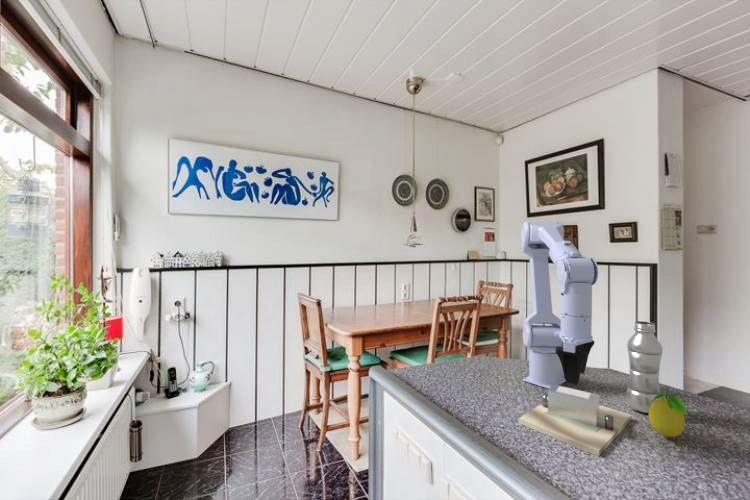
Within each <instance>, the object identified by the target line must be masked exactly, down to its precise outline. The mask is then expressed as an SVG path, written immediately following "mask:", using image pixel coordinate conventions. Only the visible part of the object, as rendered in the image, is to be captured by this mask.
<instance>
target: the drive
mask: <svg viewBox="0 0 750 500" xmlns="http://www.w3.org/2000/svg"><path fill="white" fill-rule="evenodd" d="M547 395H548V413H549V414H553V415H556V416H560V417H563V418H567V419H570V420H574V421H577V422H581V423H585V424H588V425H592V426H595V427H597V424H598V420H599V405H600V394H597V393H593V392H588V391H585V390H581V389H576V388H572V387H568V386H562V385H555V384H552V386H551V387H550V388H549V389H548V390H547Z"/></svg>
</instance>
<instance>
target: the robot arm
mask: <svg viewBox="0 0 750 500" xmlns="http://www.w3.org/2000/svg"><path fill="white" fill-rule="evenodd" d="M564 237H565V228H564V225H563V224H562V222H561V221H539V222H538V221H535V222H533V221H532V222H531V221H525V222H523V224H522V226H521V231H520V238H521V240H520V241H521V249H522V253H524V254H526V255H528V259H529V261H528V262H529V265H530V266H529V267H530V269H529V270H530V280H531V281H530V282H531V283H530V284H531V294H532V310H533V311H532V313H531V314H530V315H528V316H527V317H526V318H525V319H524V320H523V323H522V324H523V326H522V327H523V328H522V341H523V344H524V346H525V347H526V348H527V349H529V353H528V354H529V358H528V361H529V363H528V371H529V372H528V376H526V377H523V378H522V381H523V382H525V383H529V384H532V385H535V386H538V387H542V388H546V389H548V390H549V388H550V387H551V386H552V384H555V385H559V386H562V384H563V383H568V384H570V385H575V386H577V385H578V383H579V381H580V378H581V374H585V371H586V368H587V364H588V359H589V355H590V353H591V350H592V348H593V346H594V345H595V340H593V335H592V331H593V329H592V321H593V320H592V319H593V318H592V317H593V316H592V315H593V286H594V285H596V282H597V281H598V277H599V268H598V264H597V261H596V260H595V258H594V257H592V256H591V257H589V256H588V257H587V256H583V255H582V253H581V252H580V251H579V250H578V249H577V247H576V246H575V245H574V244H573V243H572V242H571V241H570V240H565V239H564ZM549 258H550V259H551V261H552V263H553V264H554V266H555V268H556V279H557V282H558V284H557V285H558V291H559V292H560V318H559V316H556V314H554V313H553V306H552V305H553V304H552V295H551V281H550V267H549ZM535 324H536V325H535ZM538 324H539V325H538Z"/></svg>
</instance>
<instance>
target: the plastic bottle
mask: <svg viewBox="0 0 750 500" xmlns="http://www.w3.org/2000/svg"><path fill="white" fill-rule="evenodd" d="M634 331H635V333H633V335H631V337H630V338H629V339H628V342H627V344H626V346H627V353H628V360H629V378H628V386H627V389H626V394H625V396H626V398H625V399H626V403H627V404H628V406H629V407H630V408H632V409H633V410H635V411H638V412H640V413H643V414H649V409H650V406H651V405H652V403H653V402H654V401H656V400H657V399H660V398H662V397H660V398H657V399H656V400H654V398H655V397H656V395H657V394H658V393H659V392H661V390H660V379H659V378H660V365H661V361H662V355H663V345H662V343H661V342H660V340H659V339H658V338H657V336H656V335H655V333H656V325H655V323H653V322H649V321H641V320H640V321H639V320H638V321H635V322H634ZM653 400H654V401H653ZM652 401H653V402H652Z"/></svg>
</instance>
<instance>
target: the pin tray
mask: <svg viewBox="0 0 750 500" xmlns="http://www.w3.org/2000/svg"><path fill="white" fill-rule="evenodd" d="M632 415H633V414H629V413H627V412H623V411H620V410H616V409H613V408H610V407H607V406H604V405H601V404H599V420H598V424H597V427H595V426H592V425H588V424H585V423H581V422H577V421H574V420H570V419H567V418H563V417H560V416H556V415H553V414H549V413H548V393H543V394H542V402H541V403H540V404H538V405H537V406H535V407H534V408H532V409H530V410H529V411H527V412H526V413H525V414H523V415H521V416H520V417H519V418H518V424H519V425H523V426H524V427H527V428H528V429H529V428H530V429H532V430H534V431H536V432H539V433H542V434H544V435H545V436H549V437H551V438H554V439H556V440H558V441H560V442H563V443H565V444H568V445H570V446H572V447H575V448H577V449H579V450H582V451H584V452H586V453H590V454H592V455H594V456H596V457H600V456H601V454H603V453H604V451H605V450H607V448H608V447H609V446H610V445H611V444H612V442H613V441H614V440H615V439H616V438H617V437H618V436H619V435H620V433H621V432H623V430H624V429H625V428H626V427H627V425H629V423H630V422H631V421H632V419H633V416H632Z"/></svg>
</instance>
